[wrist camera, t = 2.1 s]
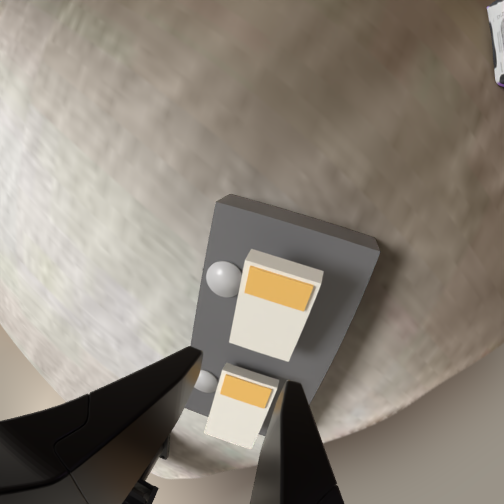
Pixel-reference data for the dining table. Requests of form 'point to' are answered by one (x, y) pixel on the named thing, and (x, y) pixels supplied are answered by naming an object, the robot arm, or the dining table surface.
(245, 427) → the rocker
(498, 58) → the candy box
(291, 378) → the switch panel
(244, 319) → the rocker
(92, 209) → the dining table surface
